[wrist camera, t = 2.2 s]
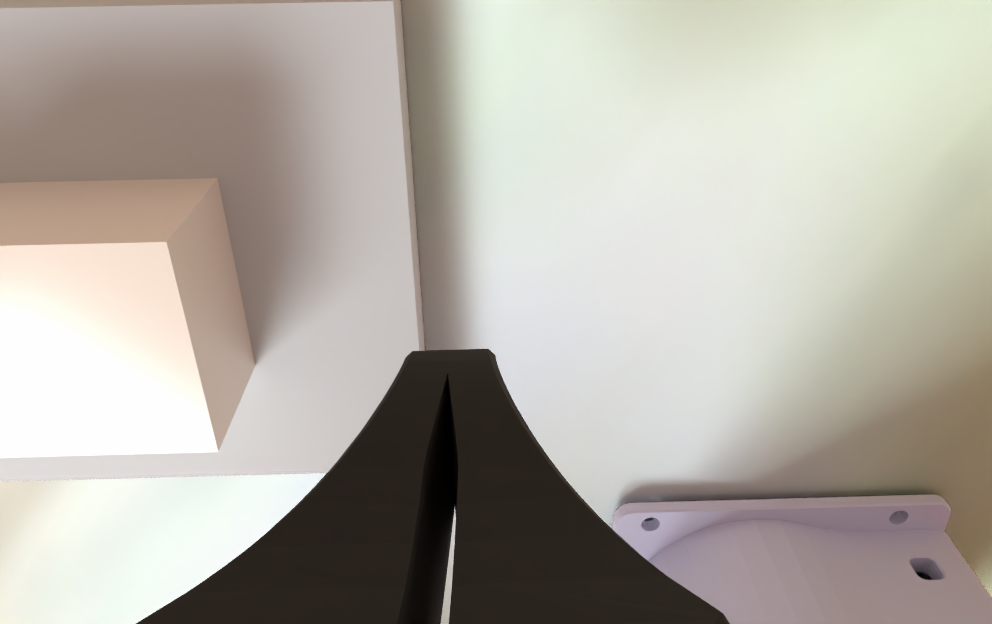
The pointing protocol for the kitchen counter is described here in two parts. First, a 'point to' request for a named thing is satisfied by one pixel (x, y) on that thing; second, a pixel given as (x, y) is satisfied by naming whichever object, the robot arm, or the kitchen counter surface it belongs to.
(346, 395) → the grey board
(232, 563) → the robot arm
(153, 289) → the tile
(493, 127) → the kitchen counter surface
